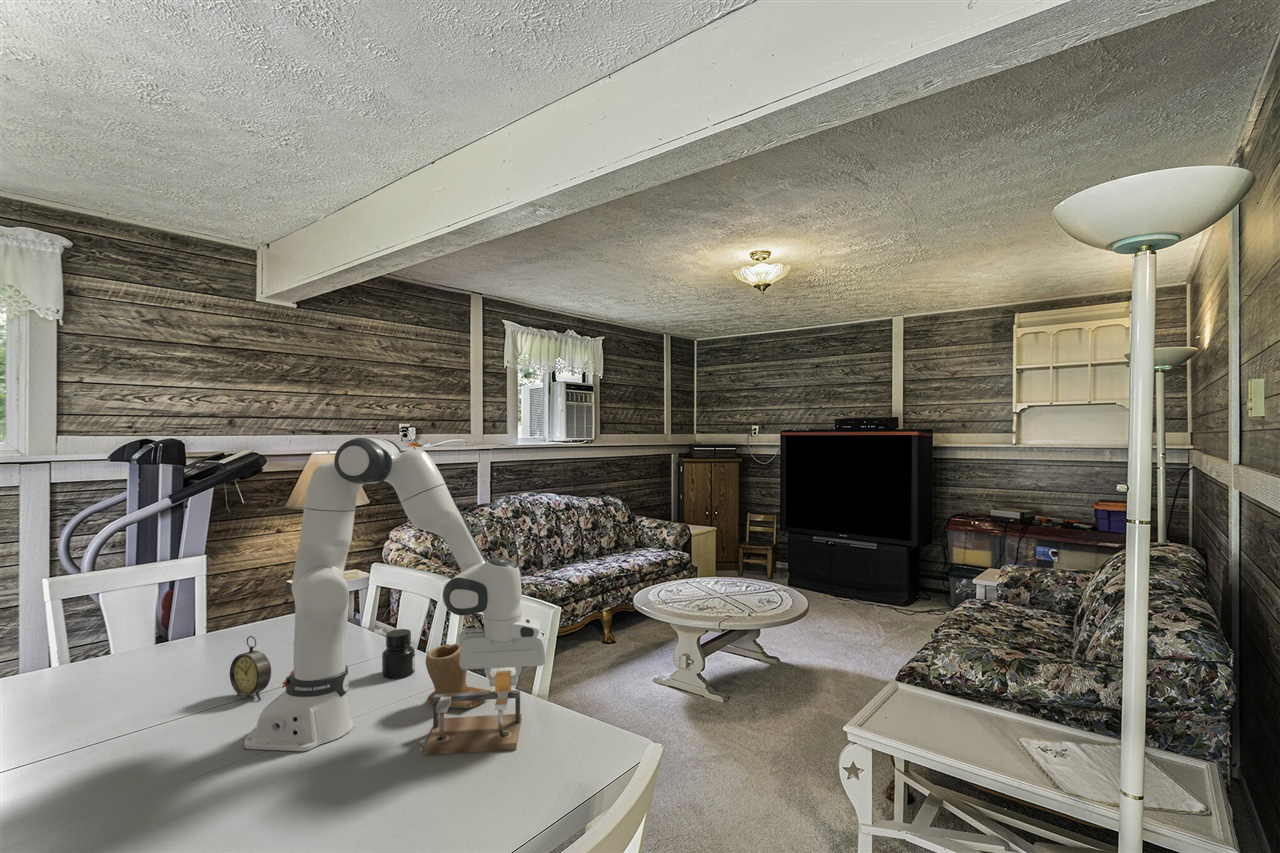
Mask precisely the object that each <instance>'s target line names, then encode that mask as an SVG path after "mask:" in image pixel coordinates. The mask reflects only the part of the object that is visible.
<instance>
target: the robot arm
mask: <svg viewBox="0 0 1280 853" xmlns="http://www.w3.org/2000/svg"><path fill="white" fill-rule="evenodd" d="M333 459H334V460H333V461H329V462H324V463H322V464H320V465H317V467H316V466H315V469H314V470H313V472H312V474H311V477H310V480H309V484H308V487H307V491H306V495H305V500H304V505H303V506H304V507H303V514H302V521H301V529H300V530H301V531H300V536H299V543H298V547H297V553H296V557H295V558H296V559H295V564H294V568H293V575H292V580H291V593H292V596H293V600H294V606H295V609H294V610H295V611H294V615H295V616H294V633H293V634H294V636H293V670H292V671H291V672H290V673H289V675H288V676H286V678H285V680H283V682H282V683H281V685H282V687H281V688H282V689H284V688H285V690H284V691H283V692H282V693H280V695H278V696H277V697H276V698H274V699H273V700H272V701H271V702H269V703H268V704H267V705H266V706H265V707H264V708H263V710H261V713H260V714H259V716H258V719H257V722H256V727H254V728H253V729H252V730H251V731H250V732H249V733H248V734H247V736H246V737H245V739H244V744H243V747H244V749H245V748H246V750H267V751H286V752H287V751H288V752H289V751H290V752H292V751H293V752H306V751H310V750H312V749H314V748H316V747H317V746H319V745H322V744H326V743H329V742H332V741H335V740H337V739H339V738H341V737H343V736H344V735H346V734H348V733H349V732H350V731H351V730H352V729H353V728H354V725H355V722H354V719H353V716H352V714H351V709H350V708H351V707H350V704H349V697H348V691H349V684H350V683H349V681H350V679H349V678H350V677H349V676H350V675H349V668H348V665H347V629H348V628H347V627H348V620H349V619H348V618H349V607H350V606H349V605H350V603H349V602H350V588H349V584H348V583H347V581H346V579H345V575H344V574H345V568H346V563H347V558H348V553H349V550H350V546H351V544H352V539H353V530H354V522H355V515H356V507H357V498H358V495H359V494H358V493H359V491H360V489H361V488H362V487H363V486H364V485H371V484H373V485H374V484H378V483H382V482H386V483H388V484H389V485H391V486H392V488H394V491H395V492H396V494H397V497H398V499H399V502H400V504H401V507H402V509H403V511H404V513H405V514H406V516H407V518H408V520H409V521H410V522H411V524H412V525H413V526H414V527H416V528H417V529H420V530H421V531H425V532H429V533H432V534H435V535H437V536H439V537H440V538H442V539H443V540H444V541H445V542H446V544H447V546H448V547H449V549H450V551H451V553H452V555H453V556H454V558H455V560H456V562H457V564H458V566H459V568H460V573H459V574H457V575H455V576H454V577H452V578H451V579H450V580H449V581H448V582H447V583H446V584H445V586H444V588H443V590H442V598H443V599H442V600H443V603H444V606H445V607H446V609H447V610H448V611H449V612H451V613H452V614H454V615H456V616H468V615H469V616H471V615H476V614H480V613H482V614H483V627H476V628H470V627H469V628H468V627H467V628H465V629H464V630H461V631H460V633H459V634H458V637H457V638H458V640H457V641H458V644H459V646H460V647H461V650H460V658H459V666H460V667H461V668H462V669H463V670H467V671H468V670H484V675H485V676H486V677H487V679H488V680H489V687H495V675H493V673H492V669H502V668H514V669H515V673H514V674H511V685H512V686H517V685H518V678H519V675H520V674H521V672H522V669H523V668H525V667H539V666H540V667H541V666H543V665H544V664H545V663H546V662H547V650H546V642H545V638H544V635H543V633H542V632H541V622H540V621H539V620H538V619H534V618H531V617H527V616H523V615H522V614H523V612H522V608H521V600H522V579H521V578H522V577H521V571H520V567H519V566H518V563H516V562H515V561H514V560H512V559H509V558H506V557H492V558H491V557H490V558H489V559H487V558H486V557H485V555H484V554H483V552H482V550H481V548H480V546H479V545H478V544H479V543H477V540H476V539H475V537H474V535H473V533H472V532H471V530H470V528H469V526H468V524H467V523H466V521H465V519H464V518H463V516H462V514H461V512H460V511H459V509H458V507H457V506H456V504H455V501H454V500H453V497H452V495H451V493H450V490H449V489H448V486H447V484H446V482H445V480H444V477H443V475H442V474H441V471H440V469H438V466H437V465H436V463H435V462H434V460H433V459H432V458H431V456H430V455H429V454H428V452H426V451H424V450H422V449H419V448H414V449H409V450H408V449H407V450H405V451H402V450H401V448H400V447H399V446H398V445H397V444H396V443H395V442H393V441H391V440H389V439H387V438H386V439H385V438H380V437H376V436H375V437H373V436H371V437H355V438H352V439H349V440H348V441H347V440H346V441H345V442H344V443H342V444H341V445H340V446H339V448H338V449H337V451H336V452H335V454H334V458H333Z"/></svg>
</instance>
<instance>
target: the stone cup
mask: <svg viewBox="0 0 1280 853" xmlns="http://www.w3.org/2000/svg"><path fill="white" fill-rule="evenodd" d="M460 650H461V647H460V646H459V643H454V644H442V645H439V646H437V647H435V648H432V649H431V650H430V651H429V652H428V653H427V654H426V656H425V666H426V670H427V673H428V675H429V678H430V679H431V682H432V684H433V686H434V687H433V688H434V691H432V692H431V693H430V694H429V695H428V696H427V698H426V699H427V700H426V701H427V702H429V703H430V704H432V705H433V697H434V695H435V694H453V693H472V692H492V690H491V689H484V688H479V687H474V686H473V687H472V686H468V685H467V683H466V682H467V674H468V673H467V671H468V669H467V670H463V669H462V668H461V667H460V666H459V658H460ZM485 701H486V700H471V701H452V702H451V704H450V706H449V708H450V707H451V708H460V709H471V708H475V707H477V706H479V705H481V704H482V703H484V702H485Z"/></svg>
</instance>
